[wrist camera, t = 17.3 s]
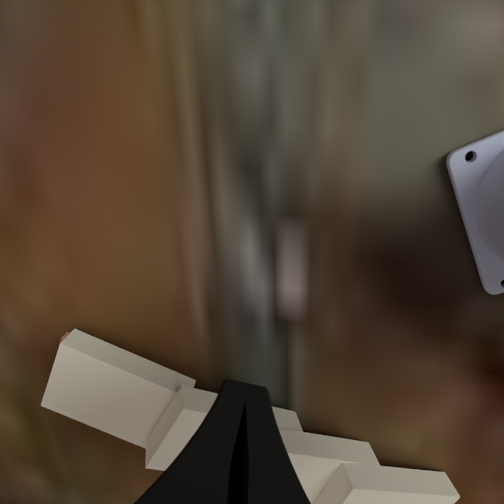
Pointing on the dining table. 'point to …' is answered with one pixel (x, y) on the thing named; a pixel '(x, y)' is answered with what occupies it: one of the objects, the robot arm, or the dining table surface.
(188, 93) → the dining table surface
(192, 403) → the ivory domino
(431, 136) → the dining table surface
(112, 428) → the ivory domino
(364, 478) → the ivory domino
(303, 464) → the ivory domino
